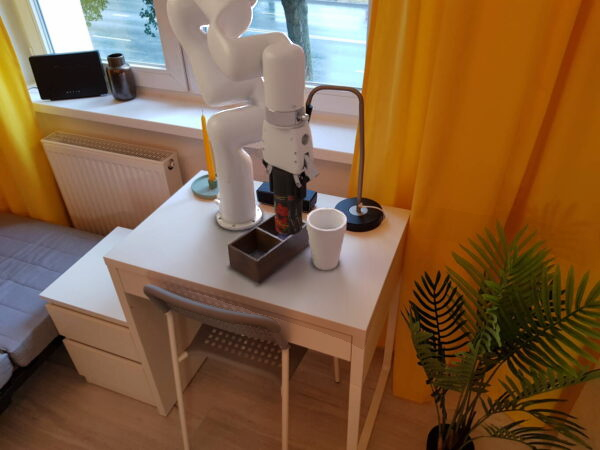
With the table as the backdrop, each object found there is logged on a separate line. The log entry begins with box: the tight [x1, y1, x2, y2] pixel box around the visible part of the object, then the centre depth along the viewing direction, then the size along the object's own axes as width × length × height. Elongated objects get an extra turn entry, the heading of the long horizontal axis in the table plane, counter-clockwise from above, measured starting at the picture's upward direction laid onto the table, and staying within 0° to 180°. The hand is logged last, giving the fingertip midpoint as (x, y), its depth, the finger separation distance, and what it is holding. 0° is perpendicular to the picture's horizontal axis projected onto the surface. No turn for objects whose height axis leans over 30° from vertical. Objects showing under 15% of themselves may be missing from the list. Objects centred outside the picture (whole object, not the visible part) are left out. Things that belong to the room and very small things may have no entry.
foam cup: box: [306, 207, 348, 271], centre depth 118 cm, size 10×9×13 cm
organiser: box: [227, 212, 310, 285], centre depth 122 cm, size 10×19×7 cm, turn 141°
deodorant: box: [272, 166, 303, 236], centre depth 103 cm, size 6×6×15 cm
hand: (287, 194), depth 102 cm, fingers closed on deodorant, 6 cm apart
